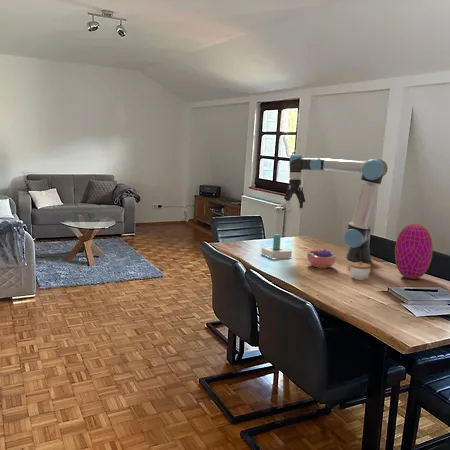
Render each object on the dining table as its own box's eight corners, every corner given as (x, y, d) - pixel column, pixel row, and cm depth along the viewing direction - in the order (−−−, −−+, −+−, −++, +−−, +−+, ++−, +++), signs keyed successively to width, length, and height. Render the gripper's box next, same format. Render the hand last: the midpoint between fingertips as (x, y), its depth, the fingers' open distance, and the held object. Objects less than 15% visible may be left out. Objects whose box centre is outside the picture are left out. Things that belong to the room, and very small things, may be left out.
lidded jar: (359, 281, 249) (360, 264, 248) (345, 276, 259) (346, 260, 257) (373, 280, 254) (375, 263, 253) (359, 275, 264) (361, 258, 262)
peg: (280, 256, 301) (281, 235, 299) (274, 257, 299) (275, 235, 297) (277, 255, 305) (278, 233, 303) (271, 255, 303) (272, 234, 301)
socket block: (291, 257, 299) (291, 251, 298) (272, 259, 293) (272, 252, 292) (280, 253, 311) (280, 246, 311) (261, 254, 306) (261, 247, 305)
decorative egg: (431, 277, 264) (437, 224, 259) (426, 285, 248) (432, 229, 243) (396, 271, 274) (401, 220, 269) (389, 278, 257) (394, 224, 252)
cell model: (333, 263, 287) (334, 245, 285) (337, 272, 268) (339, 252, 266) (305, 262, 289) (306, 244, 287) (307, 270, 269) (309, 251, 267)
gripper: (279, 178, 311) (278, 209, 314) (301, 180, 289) (300, 214, 292) (289, 177, 315) (288, 209, 318) (311, 180, 292) (310, 213, 296)
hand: (294, 211), depth 305 cm, fingers open, 13 cm apart
